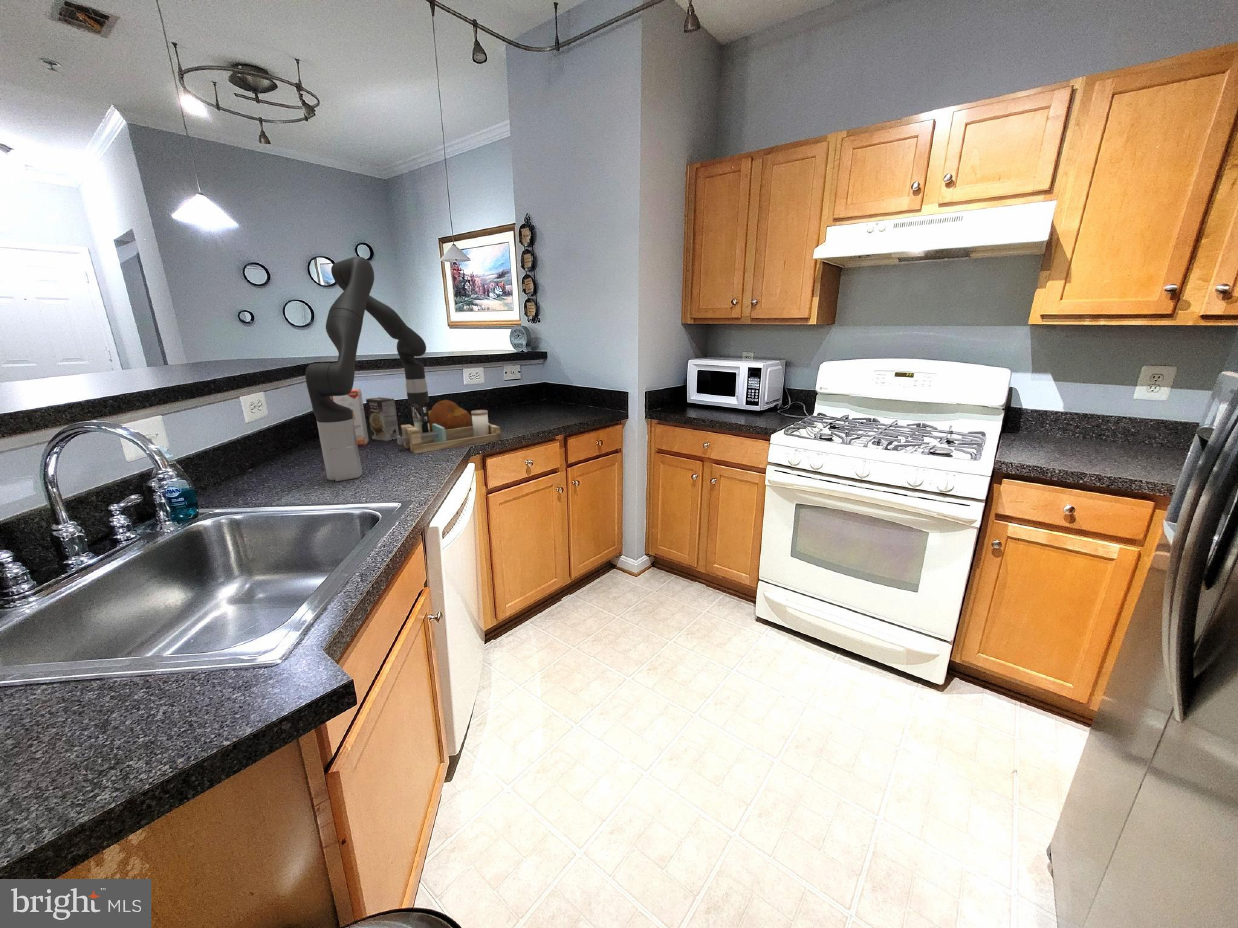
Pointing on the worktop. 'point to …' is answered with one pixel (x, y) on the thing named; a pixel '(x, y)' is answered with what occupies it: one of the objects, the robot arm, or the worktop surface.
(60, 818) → the worktop surface
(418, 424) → the jar sage
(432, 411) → the bread
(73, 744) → the worktop surface
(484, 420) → the jar cream
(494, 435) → the wooden tray
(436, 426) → the pusher
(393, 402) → the coffee box
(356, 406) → the cracker box
